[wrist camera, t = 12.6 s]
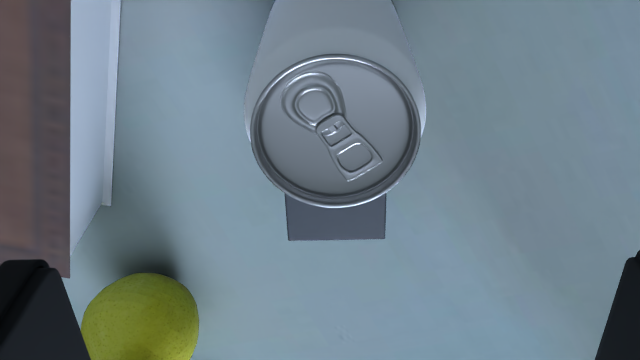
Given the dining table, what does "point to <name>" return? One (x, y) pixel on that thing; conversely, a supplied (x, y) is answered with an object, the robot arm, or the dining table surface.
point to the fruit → (141, 320)
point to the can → (334, 101)
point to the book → (55, 123)
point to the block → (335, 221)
